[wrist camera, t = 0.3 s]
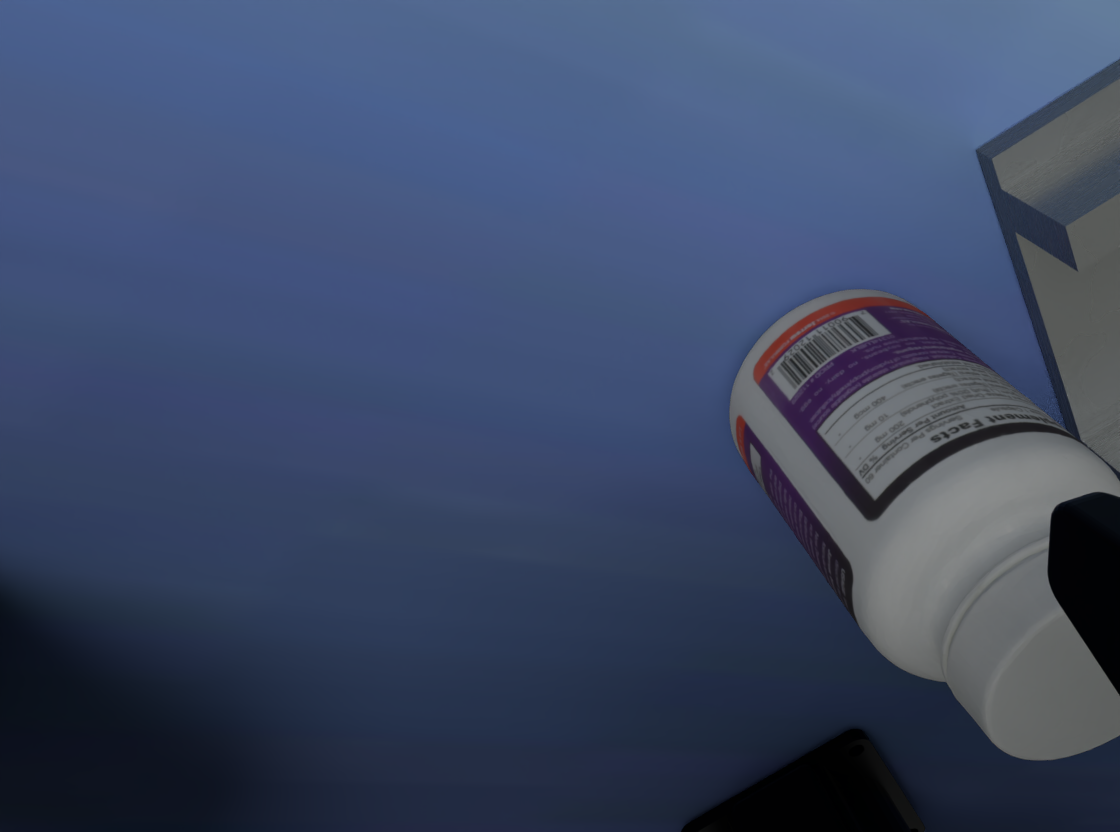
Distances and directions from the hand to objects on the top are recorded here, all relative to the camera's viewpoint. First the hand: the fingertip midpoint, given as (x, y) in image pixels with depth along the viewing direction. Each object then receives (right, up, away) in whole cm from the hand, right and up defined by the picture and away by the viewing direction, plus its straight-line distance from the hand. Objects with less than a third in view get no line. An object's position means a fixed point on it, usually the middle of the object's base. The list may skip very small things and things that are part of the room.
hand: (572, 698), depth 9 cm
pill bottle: (+6, +3, +17) cm, 18 cm away
